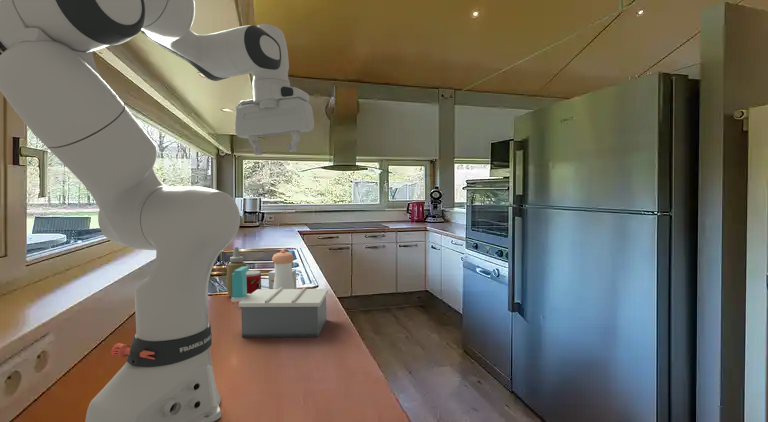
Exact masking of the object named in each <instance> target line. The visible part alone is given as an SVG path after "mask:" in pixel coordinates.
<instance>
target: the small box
mask: <svg viewBox="0 0 768 422" xmlns="http://www.w3.org/2000/svg"><path fill="white" fill-rule="evenodd" d="M292 277H293V282H294V289H298V287H297V270H296V269H292ZM274 279H275V269H273V270H270V271H269V272H268V289H273V286H274Z"/></svg>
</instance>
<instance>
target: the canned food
mask: <svg viewBox="0 0 768 422" xmlns="http://www.w3.org/2000/svg"><path fill="white" fill-rule="evenodd" d="M246 279H247V294H252V293H253V292H254V291H256V290H257V289H262V273H261V271H260V270H256V269H254V270H253V269H252V270H249V271H247V272H246ZM236 303H237V304H238V303H239V302H236Z"/></svg>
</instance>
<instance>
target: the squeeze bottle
mask: <svg viewBox="0 0 768 422" xmlns="http://www.w3.org/2000/svg"><path fill="white" fill-rule="evenodd" d="M240 267H247V263H246V262H245V261H244V256H241V254H240V249H239V247H238V246H235V247H234V250H233V255H232V256H230V257H229V263H227V266H226V268H227V269H226V282H225V289H226V291H227V294H228V296H229V297H231V298H232V297H233V293H232V274H233V273H234V271H235V270H237V269H239V268H240Z"/></svg>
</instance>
